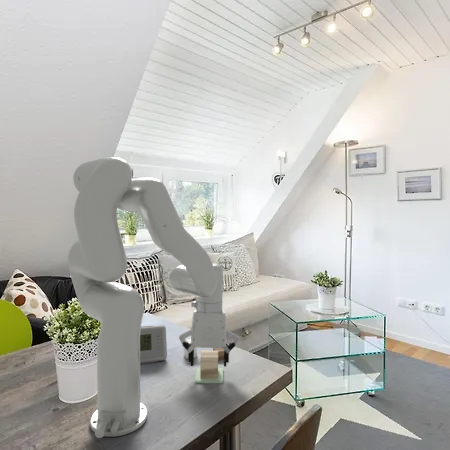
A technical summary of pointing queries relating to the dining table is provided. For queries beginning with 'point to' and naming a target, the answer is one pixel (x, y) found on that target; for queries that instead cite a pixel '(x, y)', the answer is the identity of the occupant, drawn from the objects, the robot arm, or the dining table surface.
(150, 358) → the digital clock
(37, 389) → the dining table surface
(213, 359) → the beech block
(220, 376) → the felt pad
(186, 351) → the white capsule
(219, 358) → the walnut box
